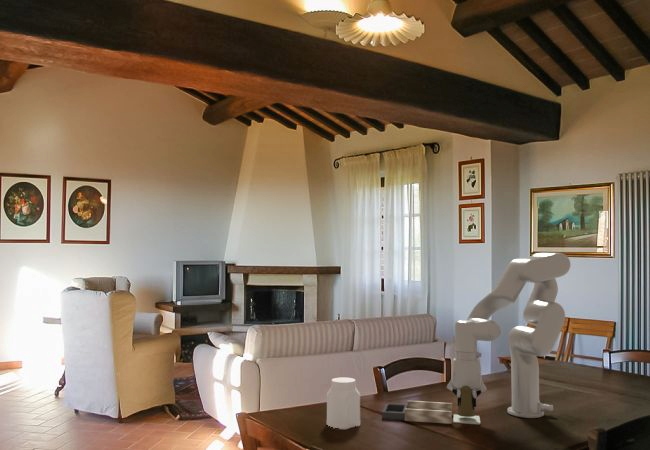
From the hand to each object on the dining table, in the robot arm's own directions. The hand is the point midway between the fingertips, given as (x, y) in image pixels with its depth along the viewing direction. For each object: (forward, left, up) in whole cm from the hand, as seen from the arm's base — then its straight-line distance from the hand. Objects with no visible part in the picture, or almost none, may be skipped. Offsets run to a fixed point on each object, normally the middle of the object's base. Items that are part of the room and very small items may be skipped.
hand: (466, 408), depth 204 cm
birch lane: (+13, 0, -4) cm, 14 cm away
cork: (0, 0, -2) cm, 2 cm away
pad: (0, 0, -4) cm, 4 cm away
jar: (+41, +15, -4) cm, 44 cm away
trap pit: (+25, 0, -4) cm, 26 cm away
